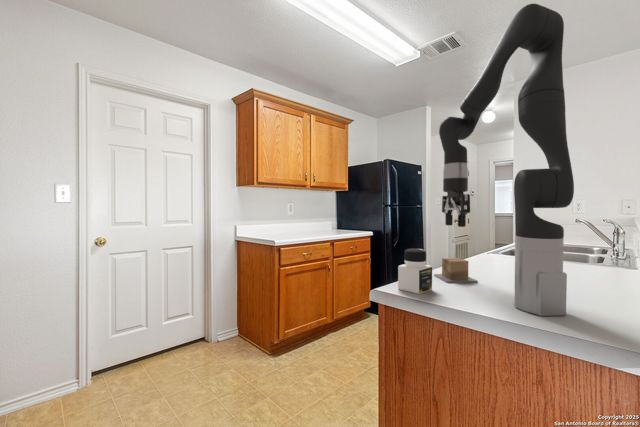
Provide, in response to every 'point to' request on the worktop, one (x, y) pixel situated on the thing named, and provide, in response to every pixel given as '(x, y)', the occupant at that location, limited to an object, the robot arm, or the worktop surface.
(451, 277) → the walnut block
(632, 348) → the worktop surface
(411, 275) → the medicine bottle
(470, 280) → the slate coaster
